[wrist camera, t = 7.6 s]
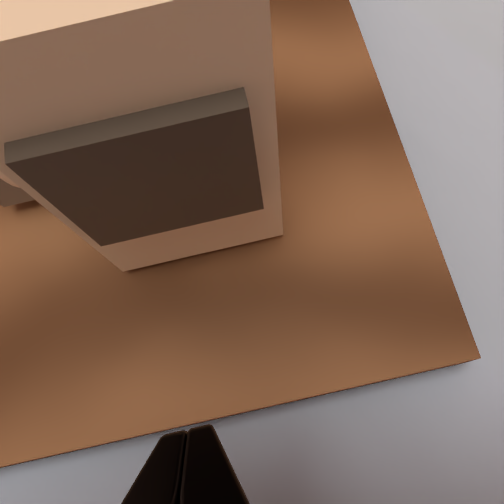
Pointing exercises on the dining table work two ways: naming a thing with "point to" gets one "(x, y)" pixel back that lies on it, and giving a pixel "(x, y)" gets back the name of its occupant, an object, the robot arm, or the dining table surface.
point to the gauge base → (238, 279)
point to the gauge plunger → (142, 122)
